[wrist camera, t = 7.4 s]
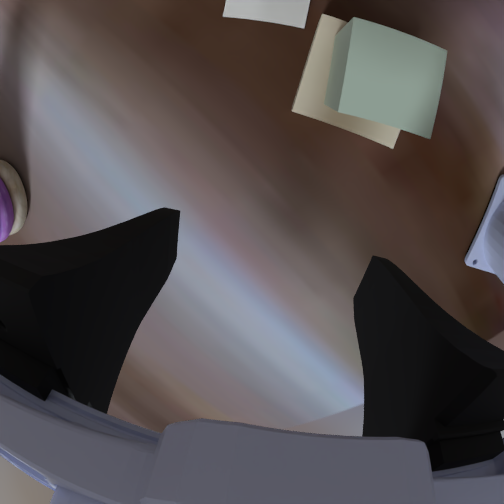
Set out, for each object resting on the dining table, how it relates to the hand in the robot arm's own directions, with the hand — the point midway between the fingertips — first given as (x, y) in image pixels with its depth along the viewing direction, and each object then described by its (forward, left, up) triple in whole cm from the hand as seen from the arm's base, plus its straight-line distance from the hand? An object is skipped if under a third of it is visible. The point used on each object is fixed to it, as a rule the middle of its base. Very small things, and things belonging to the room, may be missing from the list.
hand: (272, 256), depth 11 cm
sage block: (-3, -8, -7) cm, 11 cm away
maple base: (-3, -7, -10) cm, 13 cm away
